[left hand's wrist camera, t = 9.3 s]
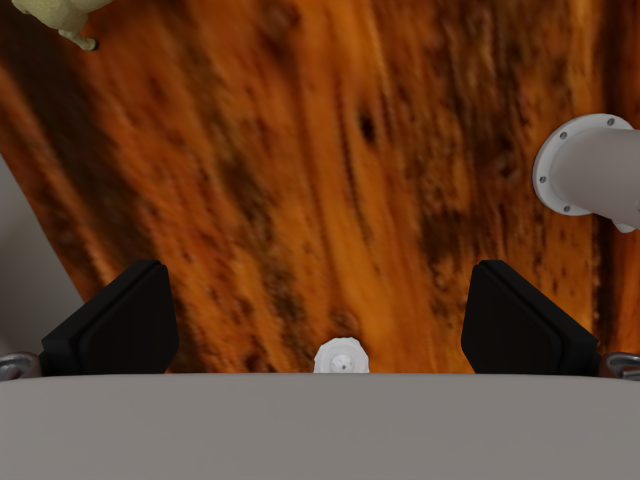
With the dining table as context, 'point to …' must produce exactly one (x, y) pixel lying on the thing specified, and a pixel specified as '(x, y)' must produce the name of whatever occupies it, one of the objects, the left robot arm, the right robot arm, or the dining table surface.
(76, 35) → the toy
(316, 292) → the dining table surface
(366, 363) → the seashell
